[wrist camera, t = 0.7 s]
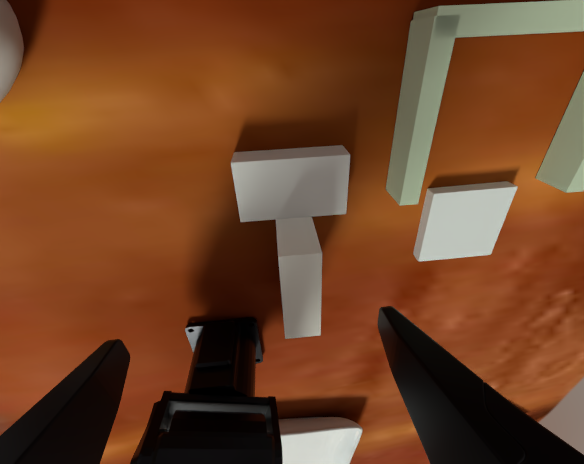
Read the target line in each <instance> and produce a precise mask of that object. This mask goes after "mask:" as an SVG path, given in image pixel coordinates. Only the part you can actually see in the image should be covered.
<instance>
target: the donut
mask: <svg viewBox="0 0 584 464" xmlns="http://www.w3.org/2000/svg"><path fill="white" fill-rule="evenodd" d="M23 52H24V44H23V37H22V34H21V31H20V27H19V24H18V21H17V18H16V16H15V14H14V12H13V10H12V8H11V6H10V4H9V3H8V2H7V0H0V102H1V101H2V100H3V98H4V97H5V96H6V95H7V94H8V92H9V91H10V89H11V87H12V85H13V83H14V81H15V79H16V77H17V75H18V73H19V71H20V69H21V65H22V59H23Z"/></svg>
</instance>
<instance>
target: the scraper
mask: <svg viewBox="0 0 584 464" xmlns="http://www.w3.org/2000/svg"><path fill="white" fill-rule="evenodd" d="M231 167H232V173H233V179H234V185H235V192H236V198H237V204H238V210H239V216H240V222H250V221H262V220H275V219H276V233H277V248H278V262H279V273H280V284H281V296H282V307H283V319H284V330H285V339H288V338H299V337H309V336H319V335H321V287H322V251H321V247H320V244H319V240H318V237H317V233H316V230H315V226H314V222H313V219H312V217H314V216H327V215H340V214H346V209H347V195H348V181H349V167H350V154H349V152H348V151H347V150H346V149H345V147H344V146H343V145H337V146H322V147H307V148H292V149H276V150H261V151H246V152H234V154H233V157H232V160H231Z"/></svg>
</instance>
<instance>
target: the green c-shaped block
mask: <svg viewBox="0 0 584 464" xmlns="http://www.w3.org/2000/svg"><path fill="white" fill-rule="evenodd" d="M579 31H584V0H561V1H538V2H516V3H494V4H471V5H449V6H437V7H433V8H429V9H425V10H421V11H417V12H414V16H413V20H412V21H411V24H410V30H409V37H408V44H407V50H406V57H405V64H404V70H403V77H402V84H401V90H400V97H399V104H398V110H397V117H396V124H395V130H394V137H393V144H392V150H391V157H390V164H389V170H388V177H387V184H386V190H387V191H388V193H389V194H390V195H391V196H392V197H393V198H394V199H395V201H396V202H397V203H398V204H399V205H411V204H418V201H419V197H420V192H421V188H422V183H423V179H424V175H425V170H426V166H427V161H428V157H429V152H430V148H431V143H432V139H433V134H434V130H435V125H436V121H437V117H438V112H439V108H440V103H441V99H442V94H443V90H444V85H445V81H446V76H447V72H448V67H449V63H450V59H451V54H452V50H453V45H454V41H455V38H459V37H479V36H499V35H519V34H539V33H559V32H579ZM536 179H538V180H540V181H542V182H544V183H547V184H549V185H551V186H553V187H555V188H557V189H559V190H561V191H563V192H566V193H567V192H580V191H583V190H584V72H583V74H582V76H581V78H580V81H579V83H578V85H577V87H576V89H575V92H574V94H573V96H572V98H571V100H570V103H569V105H568V107H567V109H566V112H565V114H564V116H563V118H562V120H561V123H560V125H559V127H558V129H557V131H556V134H555V136H554V138H553V140H552V142H551V145H550V147H549V149H548V151H547V154H546V156H545V158H544V160H543V162H542V165H541V167H540V169H539V171H538V173H537V176H536Z"/></svg>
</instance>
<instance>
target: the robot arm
mask: <svg viewBox="0 0 584 464" xmlns="http://www.w3.org/2000/svg"><path fill="white" fill-rule="evenodd" d="M378 329H379V333H380V336H381V339H382V342H383V346H384V349H385V352H386V356H387V359H388V362H389V365H390V368H391V372H392V374H393V377H394V379H395V381H396V384H397V386H398V388H399V391H400V393H401V395H402V398H403V400H404V403H405V405H406V407H407V410H408V412H409V414H410V417H411V419H412V421H413V424H414V426H415V428H416V431H417V433H418V435H419V438H420V440H421V442H422V445H423V447H424V449H425V452H426V454H427V457H428V459H429V461H430V464H584V455H583V454H582V453H580V452H579V451H577V450H576V449H574V448H573V447H572V446H570V445H569V444H567V443H566V442H565V441H563V440H562V439H560V438H559V437H558V436H556V435H555V434H553V433H552V432H550V431H549V430H548V429H546V428H545V427H543V426H542V425H541V424H539V423H538V422H536V421H535V420H534V419H532V418H531V417H529V416H528V415H527V414H525V413H524V412H523V411H521V410H520V409H519V408H517V407H516V406H515V405H513V404H512V403H511V402H509V401H508V400H507V399H506V398H504V397H503V396H502V395H501V394H499V393H498V392H497V391H496V390H494V389H493V388H492V387H491V386H489V385H488V384H487V383H485V382H484V383H483V380H482V379H481V378H479V377H478V376H477V375H476V374H475V373H473V372H472V371H471V370H470V369H468V368H467V367H466V366H465V365H464V364H462V363H461V362H460V361H459V360H457V359H456V358H455V357H454V356H452V355H451V354H450V353H449V352H448V351H446V350H445V349H444V348H443V347H441V346H440V345H439V344H438V343H437V342H435V341H434V340H433V339H432V338H430V337H429V336H428V335H427V334H425V333H424V332H423V331H422V330H421V329H419V328H418V327H417V326H416V325H414V324H413V323H412V322H411V321H410V320H408V319H407V318H406V317H405V316H403V315H402V314H401V313H400V312H399V311H397V310H396V309H395V308H394V307H392V306H387V307H381V308H380V310H379V317H378ZM185 332H186V334H187V337H188V339H189V342H190V345H191V347H192V350H193V353H194V354H193V358H192V363H191V367H190V371H189V375H188V380H187V384H186V388H185V392H184V393H172V391H164V393H163V396H162V399H161V401H158V402H156V403H154V406H153V409H152V412H151V415H150V419H149V422H148V425H147V427H146V430H145V432H144V434H143V436H142V438H141V440H140V443H139V445H138V447H137V449H136V451H135V453H134V455H133V458H132V460H131V463H130V464H283V456H282V442H281V435H280V428H279V420H278V413H277V406H276V399H275V397H272V396H269V397H255V365H256V363H261V362H262V361H263V354H262V348H261V342H260V336H259V330H258V324H257V320H256V319H255V318H244V319H233V320H222V321H212V322H201V323H190V324H188V325H187V326H186V329H185ZM129 362H130V354H129V352H128V350H127V349H126V347H125V345H124V344H123V342H122V341H121V340H120V339H115V340H108V341H106V342H105V343H103V344H102V345H101V346H100V347H99V348H98V349H97V350H96V351H94V352H93V353H92V354H91V355H90V356H89V357H88V358H87V359H86V360H84V361H83V362H82V363H81V364H80V365H79V366H78V367H77V368H75V369H74V370H73V371H72V372H71V373H70V374H69V375H68V376H67V377H65V378H64V379H63V380H62V381H61V382H60V383H59V384H58V385H56V386H55V387H54V388H53V389H52V390H51V391H50V392H49V393H48V394H46V395H45V396H44V397H43V398H42V399H41V400H40V401H39V402H37V403H36V404H35V405H34V406H33V407H32V408H31V409H30V410H29V411H27V412H26V413H25V414H24V415H23V416H22V417H21V418H20V419H18V420H17V421H16V422H15V423H14V424H13V425H12V426H11V427H10V428H8V429H7V430H6V431H5V432H4V433H3V434H2V435H1V436H0V464H100V461H101V458H102V455H103V452H104V449H105V446H106V443H107V440H108V437H109V435H110V432H111V429H112V426H113V423H114V420H115V417H116V414H117V411H118V408H119V404H120V400H121V396H122V392H123V388H124V384H125V379H126V375H127V371H128V367H129Z"/></svg>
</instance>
